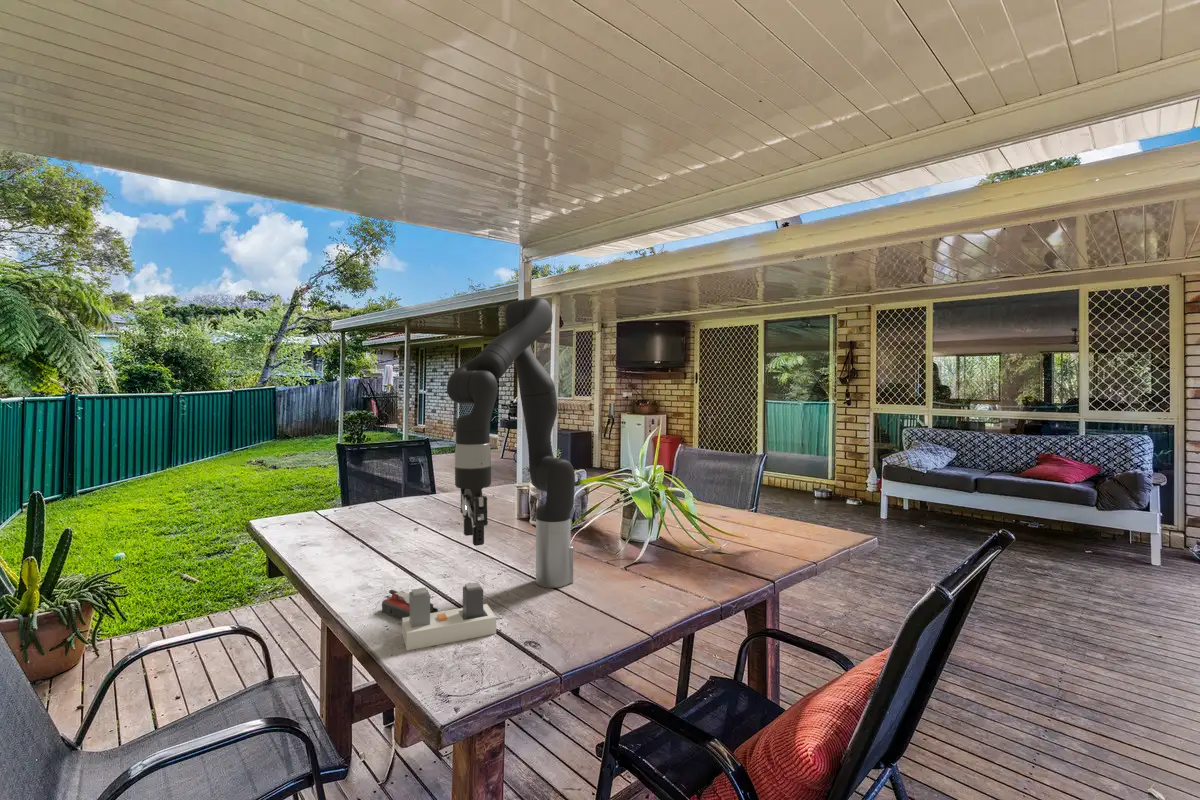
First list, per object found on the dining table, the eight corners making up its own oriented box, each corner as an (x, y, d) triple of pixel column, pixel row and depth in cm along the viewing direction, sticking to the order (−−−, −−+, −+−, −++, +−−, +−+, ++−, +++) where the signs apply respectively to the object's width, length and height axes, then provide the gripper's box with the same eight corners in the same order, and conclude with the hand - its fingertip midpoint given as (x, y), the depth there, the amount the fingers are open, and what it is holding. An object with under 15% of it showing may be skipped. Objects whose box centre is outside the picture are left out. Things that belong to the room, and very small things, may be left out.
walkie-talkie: (446, 614, 128) (394, 595, 140) (446, 595, 128) (393, 577, 140) (413, 627, 121) (361, 606, 133) (413, 607, 121) (361, 588, 132)
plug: (479, 620, 121) (479, 581, 121) (483, 626, 118) (483, 586, 118) (462, 623, 120) (462, 583, 120) (466, 630, 117) (466, 589, 117)
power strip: (486, 619, 125) (486, 574, 124) (496, 633, 117) (496, 586, 117) (402, 634, 117) (402, 586, 117) (406, 650, 110) (406, 599, 109)
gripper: (499, 467, 114) (499, 546, 114) (482, 459, 126) (482, 530, 127) (462, 470, 110) (463, 551, 111) (448, 461, 123) (449, 533, 124)
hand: (473, 539), depth 119 cm, fingers open, 8 cm apart
